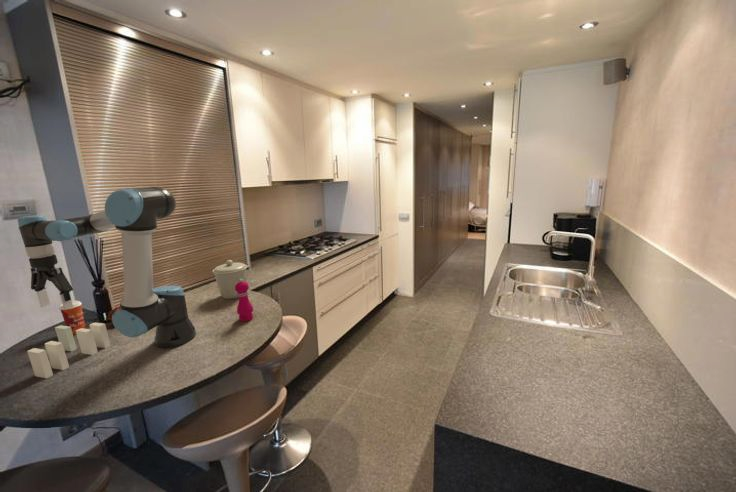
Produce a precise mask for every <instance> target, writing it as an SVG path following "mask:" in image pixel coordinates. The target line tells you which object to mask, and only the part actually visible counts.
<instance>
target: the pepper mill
mask: <svg viewBox="0 0 736 492" xmlns="http://www.w3.org/2000/svg"><path fill="white" fill-rule="evenodd" d="M249 287H250V286H249V283H248V281H247V282H243V279H239V282H238V283H237V284H236V285H235V290H236V291H237V296H238V304H237V307H236V314H237V315H239V316H238V320H239V321H240V322H247V321H251V320H253V319H254V314H253V311H254V306H253V304H252V303H251V301H250V299H249Z"/></svg>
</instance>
